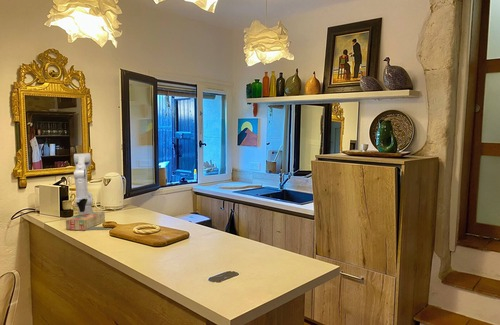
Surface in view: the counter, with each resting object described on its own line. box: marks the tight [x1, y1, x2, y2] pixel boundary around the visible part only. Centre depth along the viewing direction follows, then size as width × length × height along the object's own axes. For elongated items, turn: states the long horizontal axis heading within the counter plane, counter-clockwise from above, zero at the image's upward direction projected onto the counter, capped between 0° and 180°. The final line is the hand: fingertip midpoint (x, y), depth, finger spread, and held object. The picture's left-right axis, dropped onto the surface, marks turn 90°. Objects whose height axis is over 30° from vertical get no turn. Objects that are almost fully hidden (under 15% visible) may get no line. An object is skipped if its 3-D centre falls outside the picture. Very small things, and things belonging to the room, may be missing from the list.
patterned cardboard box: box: [65, 211, 106, 231], centre depth 226 cm, size 21×6×12 cm
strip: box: [76, 226, 113, 232], centre depth 220 cm, size 6×20×1 cm, turn 95°
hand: (82, 211), depth 220 cm, fingers closed
